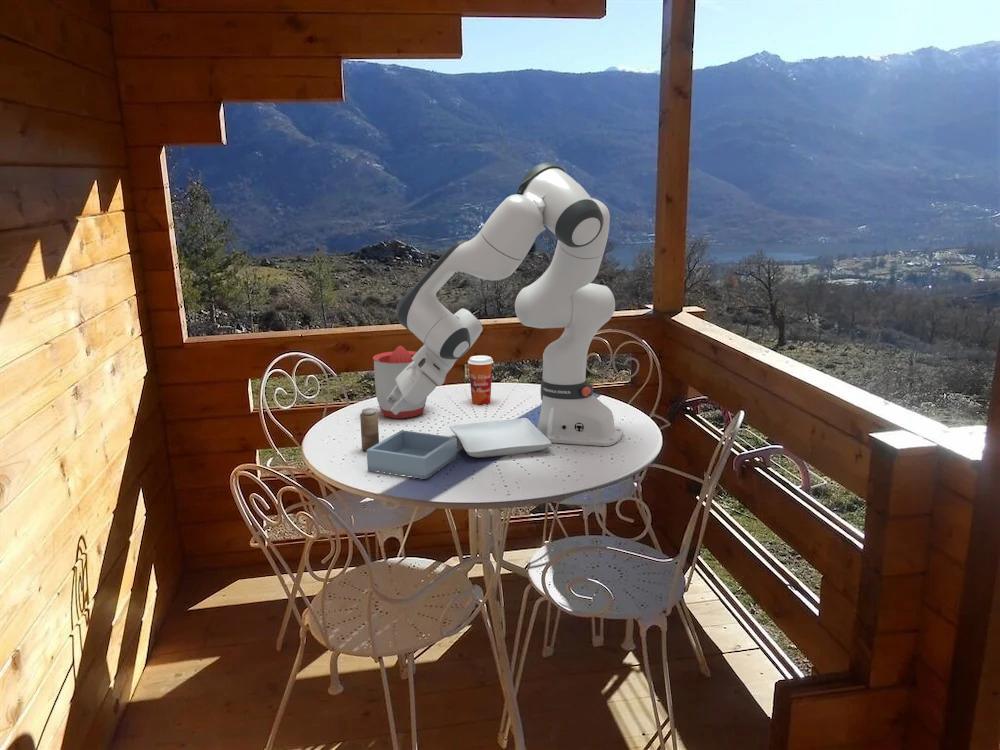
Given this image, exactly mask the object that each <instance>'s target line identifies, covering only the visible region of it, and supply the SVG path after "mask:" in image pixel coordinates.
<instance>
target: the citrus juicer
mask: <svg viewBox="0 0 1000 750" xmlns="http://www.w3.org/2000/svg"><path fill="white" fill-rule="evenodd" d="M417 352H418V351H413V350H407V349H406V348H405V347H404V346H403V345H399V346H397V347H396V348H395V349H394V350H393V351H387V352H381V353H377V354H375V355H374V356H373V357H372V360H373V371H374V388H375V394H376V395H375V396H376V400H377V404H378V405H379V409H380V411H381V413H382V415H383V416H385V417H388V418H393V419H394V418H395V419H396V420H400V419H402V420H403V419H405V418H413V417H417V416H419V415H422V413H423V412H424V410H425V407H426V402H427V399H428V396H427V397H426V398H425V399H424V400H423V401H422V402H421V403H420V404H418V405H417V406H415V407H413V406H412V405H411V404H409V405H408V406H407V407H405V408H404V409H402V410H401V411H400V412H399V413H398V414H397V415H395V414H394V413H393V412H392V411H391V407H393V405H394V404H396V403H397V402H398V401H400V399H401V398H402V396H403V395H402V394H400V395H399V397H398V398H397V400H396V401H395V402H394V403H393V404H390V403H389V402H388V401H387V398H388V396H389V395H390V394H391V393H392V391H393V389H394V388H395V386H396V385H397V383H396V381H395V379H396V377H397V376H398V375H399V374H400V373H401V372H402V371H403V370H404V369H405V368H406V367H407V366H408V365H409V364H410V363H411V362H412V361H413V360H412V357H413V356H414V355H415V354H416V353H417Z"/></svg>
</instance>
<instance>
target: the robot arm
mask: <svg viewBox="0 0 1000 750" xmlns="http://www.w3.org/2000/svg"><path fill="white" fill-rule="evenodd" d="M610 219H611V216H610V210H609V209H608V207H607V206H606V204H604V202H602V201H600V200H598V199H596V198H594V197H591V196H590V195H589V193H588V192H587V191H586V190H585V188H584V187H583V186H582V185H581V184H580V183H579V182H577V181H576V180H575V179H574V178H573V177H572V176H570V175H569V174H568V173H567V172H566V171H565V170H564V169H563V168H562V167H561V166H559V165H558V164H556V163H553V162H550V161H549V162H548V161H545V162H541V163H539V164H536V165H535V166H534V167H532V168H531V169H530V170H529V171H528V172H527V173H526V174H525V175H524V177H523V179H522V180H521V183H520V184H519V186H518V187H517V191H516V194H511V195H509V196H508V197H506V198H505V199H504V200H503V201H502V202H501V203H500V204H499V205H498V206H497V207H496V209H494V211H493V212H492V213H491V214H490V216H489V218H488V219H487V220H486V222H485V223H484V224H483V226H482V227H481V229H480V231H479V232H478V233H477V234H476V235H475V236H474V237H472V238H471V239H469V240H466V239H461V240H459V241H458V242H455V243H454V244H453V245H451V246H450V247H449V248H448V249H447V250H446V251H445V252H444V253H443V254H442V255H441V256H440V258H439V259H438V260H437V261H436V262H435V263H434V264H433V265H432V266H431V267H430V268H429V270H428V271H427V272H426V273H425V275H423V277H422V278H420V280H419V281H418V282H417V283H416V284H415V285H414V286H413V287H412V288H411V289H410V290H409V291H408V292H406V293H405V294H404V295H403V296H402V297H401V299H400V300H399V301H398V303H397V304H396V319H397V322H398V324H400V325H401V326H403V327H404V328H405V329H407V331H409V332H410V333H412V334H413V335H414V336H415V337H416V338H417V339H418V340H419V341H421V342H422V343H423V345H422V346H421V347H420V348H419V349H418V351H416V352H417V353H416V354H415V355H414V356H413V357H412V360H413V361H412V362H411V363H410V364H409V365H408V366H407V367H406V368H405V369H404V370H403V371H402V372H401V373H400V374H399V375H398V376H397V377H396V379H395V381H396V383H397V385H396V386H395V388H394V389H393V391H392V393H391V394H390V395H389V396H388V398H387V401H388V402H389V403H390V404H393V403H394V402H395V401H396V400H397V398H398V397H399V395H400V394H402V395H403V396H402V398H401V399H400V401H398V402H397V403H396V404H394V405H393V407H391V411H392V412H393V413H394V414H395V415H397V414H398V413H399V412H400V411H401V410H402V409H404V408H405V407H407V406H408V405H409V404H411V405H412V406H413V407H415V406H417V405H418V404H420V403H421V402H422V401H423V400H424V399H425V398H426V397H427V398H428V397H429V395H431V394H432V393H433V391H434V390H435V389H436V388H437V387H440V386H442V385H443V384H444V383H445V382H446V377H447V374H448V373H449V372H450V371H451V369H452V368H453V367H454V365H455V363H456V361H458V360H459V359H461V358H462V357H463V356H464V355H465V354H466V353H467V352H468V351H469V350H470V349H471V347H472V346H473V345H474V343H476V341H477V339H478V338H479V337H480V335H481V333H483V324H482V323H481V321H480V320H479V319H478V317H477V316H476V315H475V314H473V313H472V312H471V311H470V310H468V309H466V308H461V309H459V310H458V311H456V312H455V313H452V312H451V311H450V310H449V309H448V308H446V307H445V306H444V304H442V303H441V302H440V301H439V299H438V297H437V293H438V292H439V290H441V289H442V288H443V286H445V284H446V283H447V282H448V281H449V280H450V279H451V278H452V277H453V275H454V274H456V273H457V272H460V273H464V274H467V275H469V276H470V275H471V276H473V277H475V278H477V279H481V280H485V281H486V280H487V281H500V280H501V281H502V280H504V279H507V278H509V277H511V275H513V273H514V272H515V271H516V270H517V269H518V267H519V266H520V265H521V264H522V262H523V261H524V259H525V258H526V256H527V255H528V253H529V252H530V250H531V249H532V247H533V245H534V243H535V241H536V240H537V237H538V236H539V235H540V234H541V233H542V232H543V233H544V231H546V230H547V229H548V230H549V231H550V232H551V233H552V234H553V235H555V237H556V239H557V243H556V247H555V251H554V253H553V256H552V260H551V262H550V265H548V267H547V269H546V270H545V271H544V273H542V275H541V276H540V277H538V279H536V280H535V281H534V282H532V283H531V284H529V285H527V286H525V287H523V288H521V290H520V291H519V292H518V294H517V296H516V298H515V301H514V311H515V315H516V318H517V320H518V321H519V323H521V325H523V326H525V327H530V328H535V329H556V328H557V329H558V328H564V330H563V332H562V334H561V335H560V337H559V338H558V339H555V340H554V341H552V342H551V343H549V344H548V345H547V346H546V347H545V349H544V350H543V354H542V379H541V380H540V381H541V382H540V400H541V407H540V412H539V413H540V414H539V419H538V422H537V426H536V428H537V429H538V430H539V431H540V432H541V433H543V434H544V435H545V436H546V437H547V438H548V439H549V440H550V441H551V444H567V445H568V444H569V445H581V446H582V445H583V446H588V445H589V446H599V447H601V446H603V447H608V446H612V445H615V444H617V443H619V441H620V440H621V439H622V438H623V436H624V434H623V433H624V430H623V429H622V428H621V427H620V426H616V425H615V419H614V414H613V411H612V410H611V409H610V408H609V407H608V406H607V405H605V404H604V403H603V402H602V401H601V400H599V398H597V397H596V396H595V395H593V394H594V391H593V390H594V386H595V385H594V384H595V382H592V383H590V382H589V381H588V380H587V379H586V375H587V360H588V353H589V352H588V351H589V349H590V345H591V343H592V341H593V339H594V336H595V335H596V334H597V332H598V331H599V330H600V329H601V328H602V327H603V326H604V325H605V324H607V323H608V322H609V321H610V320H611V319H612V317H613V315H614V312H615V310H616V300H615V296H614V294H613V291H612V290H611V289H610V288H609V287H608V286H607V285H603V284H597V283H592V282H593V281H594V280H595V278H596V277H597V276H598V273H599V270H600V268H601V264H602V260H603V256H604V253H605V250H606V247H607V246H606V245H607V241H608V237H609V231H610ZM622 435H623V436H622ZM621 437H622V438H621ZM616 442H617V443H616Z"/></svg>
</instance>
